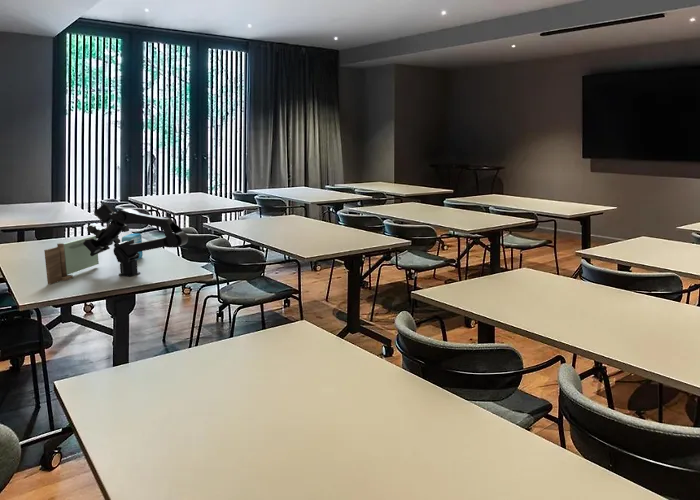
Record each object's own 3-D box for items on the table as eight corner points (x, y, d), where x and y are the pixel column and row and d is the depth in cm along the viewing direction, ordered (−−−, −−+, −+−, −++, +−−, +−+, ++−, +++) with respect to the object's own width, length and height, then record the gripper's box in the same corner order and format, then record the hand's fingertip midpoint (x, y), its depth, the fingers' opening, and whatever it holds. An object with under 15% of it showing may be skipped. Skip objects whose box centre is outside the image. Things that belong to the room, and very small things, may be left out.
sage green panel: (98, 263, 259) (96, 235, 257) (67, 274, 238) (64, 244, 236) (92, 263, 260) (90, 235, 257) (60, 274, 239) (57, 243, 236)
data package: (132, 262, 270) (130, 237, 267) (122, 262, 270) (121, 237, 268) (143, 257, 282) (141, 233, 279) (134, 257, 282) (132, 233, 279)
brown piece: (73, 278, 239) (69, 242, 236) (54, 284, 228) (50, 247, 226) (62, 277, 240) (59, 242, 237) (43, 284, 229) (39, 247, 226)
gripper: (112, 214, 252) (91, 238, 257) (85, 220, 234) (63, 245, 239) (129, 233, 252) (109, 256, 257) (104, 240, 234) (82, 265, 239)
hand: (91, 255), depth 248 cm, fingers closed
